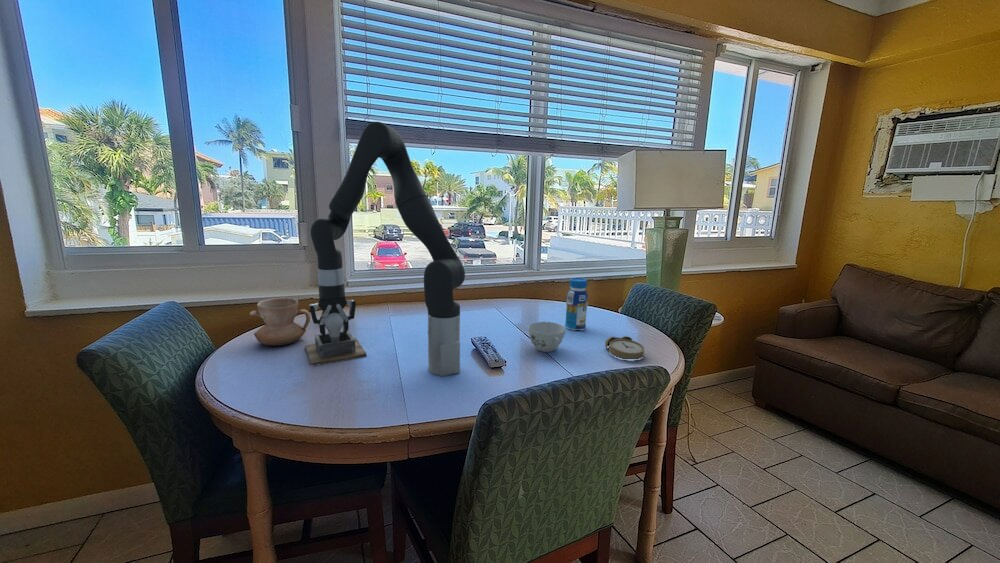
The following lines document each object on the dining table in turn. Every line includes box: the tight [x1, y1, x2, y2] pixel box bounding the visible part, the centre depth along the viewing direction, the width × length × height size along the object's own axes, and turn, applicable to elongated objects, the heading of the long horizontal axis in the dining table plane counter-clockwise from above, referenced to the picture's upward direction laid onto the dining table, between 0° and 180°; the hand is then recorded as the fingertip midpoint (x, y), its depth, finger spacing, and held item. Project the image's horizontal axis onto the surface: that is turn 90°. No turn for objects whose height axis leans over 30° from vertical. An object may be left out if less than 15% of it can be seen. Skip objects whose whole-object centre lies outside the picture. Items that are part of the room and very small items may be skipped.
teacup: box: [527, 321, 566, 353], centre depth 136 cm, size 15×12×8 cm
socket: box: [305, 330, 367, 366], centre depth 129 cm, size 16×16×5 cm
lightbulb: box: [324, 313, 344, 343], centre depth 128 cm, size 6×6×11 cm
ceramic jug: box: [249, 297, 311, 347], centre depth 136 cm, size 18×14×14 cm
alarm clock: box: [604, 336, 646, 359], centre depth 136 cm, size 11×5×15 cm
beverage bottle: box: [564, 277, 589, 331], centre depth 159 cm, size 8×8×20 cm
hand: (334, 333), depth 128 cm, fingers closed on lightbulb, 5 cm apart
